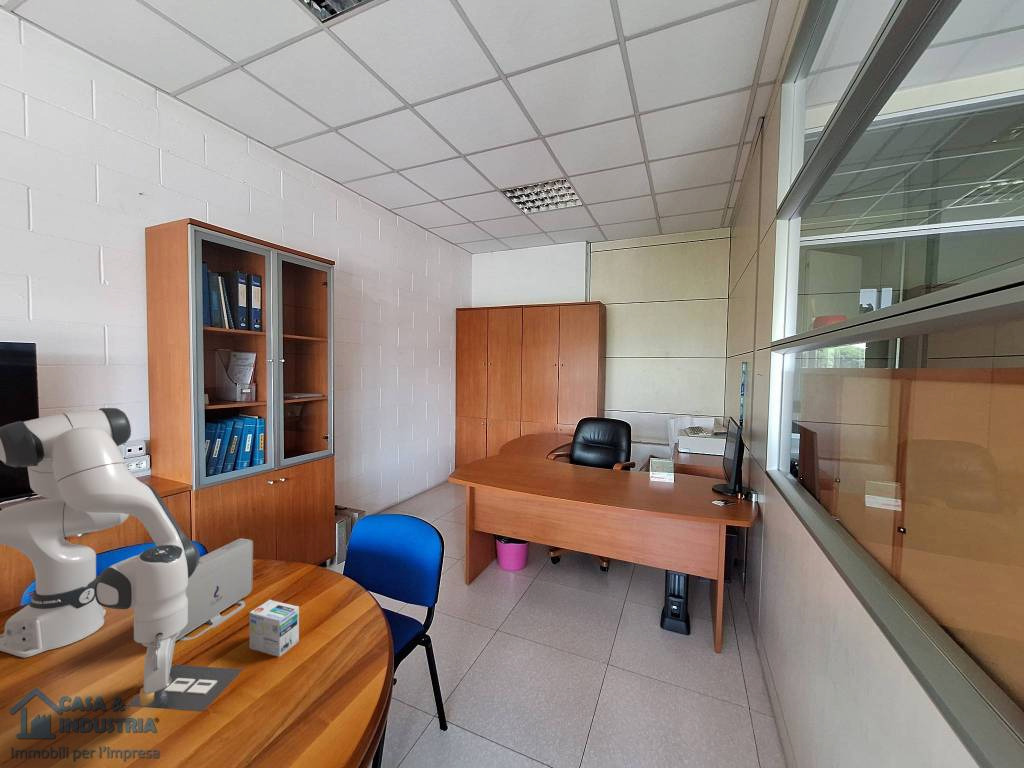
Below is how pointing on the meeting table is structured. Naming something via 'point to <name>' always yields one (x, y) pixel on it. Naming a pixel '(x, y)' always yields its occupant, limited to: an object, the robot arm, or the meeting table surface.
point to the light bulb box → (274, 627)
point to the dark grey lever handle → (145, 697)
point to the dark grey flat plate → (190, 699)
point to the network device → (218, 585)
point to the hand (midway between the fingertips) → (161, 683)
